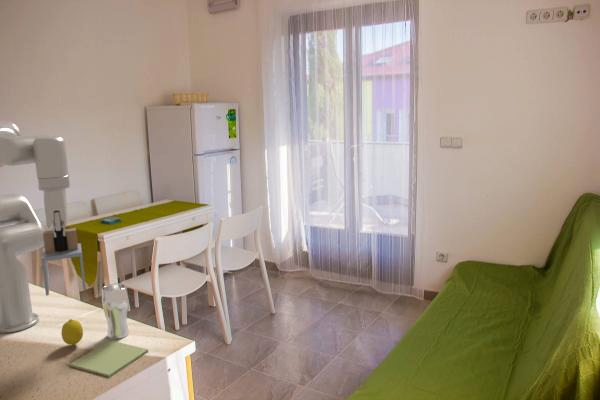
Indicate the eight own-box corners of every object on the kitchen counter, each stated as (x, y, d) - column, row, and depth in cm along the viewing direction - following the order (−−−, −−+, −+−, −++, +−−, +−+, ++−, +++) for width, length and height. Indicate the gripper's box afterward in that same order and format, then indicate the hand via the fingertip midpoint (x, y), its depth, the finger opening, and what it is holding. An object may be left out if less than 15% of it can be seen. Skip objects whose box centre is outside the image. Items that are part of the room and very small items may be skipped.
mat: (70, 365, 128) (69, 363, 128) (110, 342, 140) (110, 340, 140) (109, 377, 122) (109, 375, 122) (148, 351, 134) (148, 349, 134)
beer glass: (100, 338, 143) (95, 290, 140) (117, 328, 149) (112, 281, 146) (120, 341, 140) (114, 292, 137) (135, 331, 147) (131, 284, 144)
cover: (47, 283, 138) (40, 229, 135) (84, 277, 142) (78, 224, 139) (46, 295, 129) (38, 237, 126) (85, 289, 133) (79, 232, 130)
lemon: (76, 351, 136) (73, 324, 134) (58, 349, 137) (55, 323, 135) (88, 341, 141) (85, 315, 139) (71, 340, 142) (68, 314, 140)
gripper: (39, 180, 135) (47, 243, 139) (36, 188, 121) (45, 259, 124) (69, 178, 139) (76, 240, 142) (69, 186, 124) (77, 255, 128)
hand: (61, 248), depth 133 cm, fingers closed on cover, 3 cm apart
